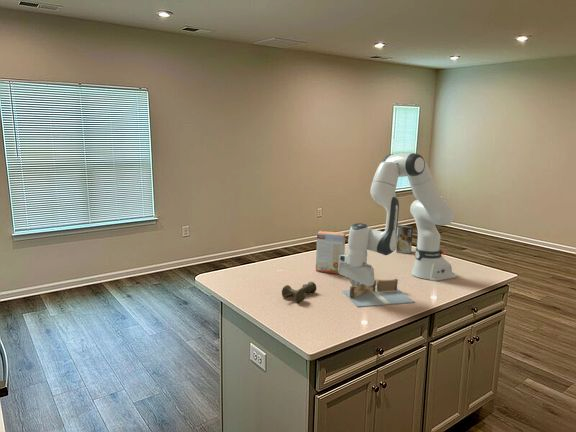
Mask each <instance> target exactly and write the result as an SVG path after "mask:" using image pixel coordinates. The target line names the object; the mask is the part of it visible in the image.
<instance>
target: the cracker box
mask: <svg viewBox="0 0 576 432" xmlns="http://www.w3.org/2000/svg"><path fill="white" fill-rule="evenodd" d="M345 253H346V232H337V231H328V230H327V231H326V230H318V232H317V233H316V251H315V255H316V257H315V271H316V272H319V273H320V272H322V273H329V274H336V275H340V274H339V272H338V264H339V261H340V260H339V256H340V255H344V254H345Z"/></svg>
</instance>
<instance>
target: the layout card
mask: <svg viewBox="0 0 576 432" xmlns="http://www.w3.org/2000/svg"><path fill="white" fill-rule="evenodd" d="M398 281H399V279H398V278H394V279H383V280H382V279H377V280H376V287H375V291H373V292H370V293H366V294H363V295H359V296H356V297H353V298H350V289H347V290H342V291H341V292H342V293H343V294H344V295H345V296H346V297H347V298H348V299H349V300H350V301H351V302H352V303H353V304H354V305H355V306H356V307H357V308H363V307H365V308H366V307H375V306H390V305H400V304H401V305H402V304H413V303H416V301H415V300H414V299H412V298H411V297H409V296H408V295H407V294H406V293H404V292H403V291H401V290H400V289H399V288H398Z"/></svg>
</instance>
